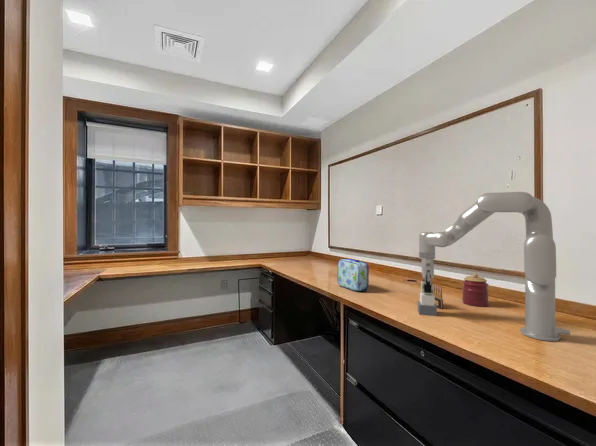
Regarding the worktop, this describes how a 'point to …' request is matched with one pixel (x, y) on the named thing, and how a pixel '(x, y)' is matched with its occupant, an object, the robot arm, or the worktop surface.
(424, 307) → the tower base
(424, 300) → the tower top
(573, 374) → the worktop surface
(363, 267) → the lunch box
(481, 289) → the canister
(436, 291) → the ammunition clip
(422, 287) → the sage block
